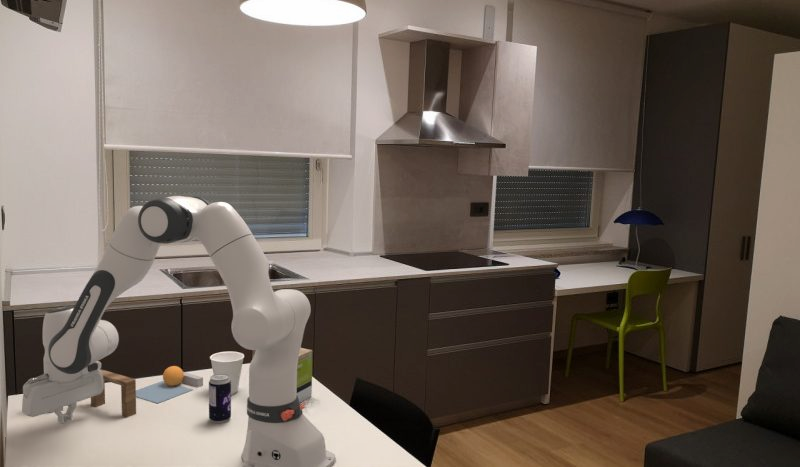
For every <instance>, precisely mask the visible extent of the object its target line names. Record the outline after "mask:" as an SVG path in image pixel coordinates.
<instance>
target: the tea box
mask: <svg viewBox="0 0 800 467" xmlns="http://www.w3.org/2000/svg"><path fill="white" fill-rule="evenodd" d="M255 352H256V350H252V355H251V356H252V359H253V357H254V355H255ZM312 388H313V350H312V349H309V348H308V349H307V348H304V347H301V348H300V353H299V358H298V365H297V396H298V398H299V401H300V404H301V403H302V402H304V401H306V400H308V399H309V398H311V397H312V396H313V395H312V392H313V391H312V390H313V389H312Z"/></svg>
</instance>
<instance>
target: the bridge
mask: <svg viewBox="0 0 800 467" xmlns="http://www.w3.org/2000/svg"><path fill="white" fill-rule="evenodd" d="M99 370H100V371H101V372H102V374H103V382H104V389H103V391H102V393H101V394H99V395H96V396H93V397H90V406H91V407H94V408H97V407H99V406H102V405H105V404H106V385H105V382H109V383H112V384H114V385H118V386H120V387H121V388H120V391H121V392H120V394H121V395H120V396H121V416H122V417H124V418H129V417H132V416H134V415H136V414H137V397H136V390H137V389H136V388H137V386H136V385H137V384H136V383H137V382H136V379H135V378H133V377H129V376H126V375H123V374H118V373H115V372H111V371H109V370H105V369H102V368H100V369H99Z"/></svg>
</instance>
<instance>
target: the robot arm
mask: <svg viewBox="0 0 800 467" xmlns="http://www.w3.org/2000/svg"><path fill="white" fill-rule="evenodd" d="M195 240H196V241H199V243H201V244H202V245H203V247H204V249H205V250H206V252H207V254H208V256H209V258H210V259H211V262H212V263H213V265H214V266H215V268H216V270H217V271H218V273H219V275H220V278H221V279H222V281H223V282H224V285H225V287H226V289H227V292H228V295H229V300H230V303H231V307H232V308H231V309H232V320H231V325H230V326H231V333H232V337H233V338H234V340H235V342H236V343H237V344H238V345H239V346H241V347H242V348H243V349H246V350H250V351H253V350H256V352H255V355H254V357H253V359H252V360H251V361H250V363H249V367H248V397H247V400H246V414H247V416H248V418H247V419H248V420H247V421H248V422H247V429H246V435H245V442H244V446H243V449H242V453H241V458H242V463H243V464H242V467H332V466H333V465H334V464H335V462H336V454H335V453H333V452H332V451H330V450H327V449H326V441H325V438H324V435H323V432H321V430H319V429H318V427H316V426H315V425H314V424H313V422H311V420H309V418H307V417H306V416H305V414H304V411H303V409H305V408H306V407H307V406H306V404H307V403H306V402H303V403H302V404H301V403H300V401H299V398H298V396H297V365H298V358H299V353H300V348H302V342H303V338H304V334H305V328H306V325H307V323H308V320H309V318H310V316H311V311H312V310H311V304H310V300H309V299H308V297H307V295H306V294H304V293H303V291H300V290H298V289H291V288H288V289H287V288H285V289H278V290H276V291H274V289H273V287H272V283H271V280H270V279H271V278H270V274H269V272H270V271H269V270H270V263H269V259H268V258H267V256H266V255H265V253H264V251H263V250H262V248H261V246H260V244H259V243H258V241H257V240H256V238H255V236H254V234H253V233H252V231H251V229H250V227H249V226H248V225H247V223H246V221H244V219H243V218H242V216H241V215H240V214H239V212H237V211H236V209H235V208H234V207H233V206H232V205H231V204H229V202H228V203H227V202H226V201H217V202H216V201H215V202H212V203H211V202H209V201H208V200H206V199H205V198H201V197H198V196H183V195H171V196H166V197H164V196H163V197H157V198H154V199H151V200H149V201H148V202H146V203H145V204H144V205H136V206H135V205H134V206H132V207H130V208H129V209H127V210H126V211H125V213H124V214H123V216H122V217H121V218H120V221H119V222H118V224H117V225H116V226H115V229H114V231H113V233H112V236H111V238H110V239H109V242H108V243H107V244H108V245H107V247H106V248H105V251H104V254H103V255H102V257H101V260H100V261H99V263H98V265H97V267H96V269H94V270H95V271H93V274H92V275H91V276H90V277H89V280H88V282H87V283H86V284H85V286H84V288H83V290H82V292H81V293H80V296H79V297H78V299H77V302H76V303H75V305H70V304H69V305H64V306H61V307H55V308H53V309H50V310H49V311H47V312H46V313H45V315H44V317H43V323H42V344H43V348H44V354H43V374H41V375H39V376H36V377H30V378H29V379H28V380H27V381H26V382H25V383H24V384H23V385H22V401H21V402H22V403H21V404H22V405H21V411H22V413H23V414H24V415H25V416H27V417H30V418H34V417H38V416H40V415H43V414H46V412H49V411H52V410H53V411H54V412H53V413H54V414H55V415H56V416H57V423H59V424H61V425H62V424H64V423H68V422H69V421H72V420H73V418H74V417H73V413H74V412H75V410H76V408H77V403H78V402H81V401H84V400H87V399H91V397H93V396H96V395H99V394H101V393H102V391H103V389H104V382H103V374H102V372H101V371H100V370H99V369H102V363H101V361H100V360H102V359H104V358H105V357H107V356H109V355H112V353H114V352H115V351H117V348H118V347H119V344H120V335H119V331H118V329H117V328H116V326H115V325H114V324H113V323H111V321H108V320H106V319H102V317H103V315H104V313H105V311H106V309H107V308H108V307H109V305H110V304H111V303H112V302H113V301H115V299H116V298H118V297H119V296H121V295H122V294H123V293H125V292H126V291H128V290H129V289H131V288H133V287H134V286H136V285H138V284H140V283H141V281H142V280H143V279H144V278H145V277H146V276H147V274H149V271H150V269H151V267H152V265H153V263H154V261H155V258H156V257H157V254H158V251H159V249H160V247H161V245H162V244H164V245H165V244H166V245H167V244H172V243H173V244H174V243H180V244H182V243H188V242H191V241H195ZM66 406H67V409H66V412H64V413H63V412H62V411H64V407H66Z"/></svg>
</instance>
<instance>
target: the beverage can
mask: <svg viewBox="0 0 800 467" xmlns="http://www.w3.org/2000/svg"><path fill="white" fill-rule="evenodd" d="M209 378H210V379H209V380H208V418H209V420H210V421H211V422H212V423H214V424H222V423H223V424H224V423H226V422H228V421H229V419H231V417H232V395H231V380H230V378H229V375H227V374H215V375H214V374H212V375H211V376H210V377H209Z"/></svg>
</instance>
